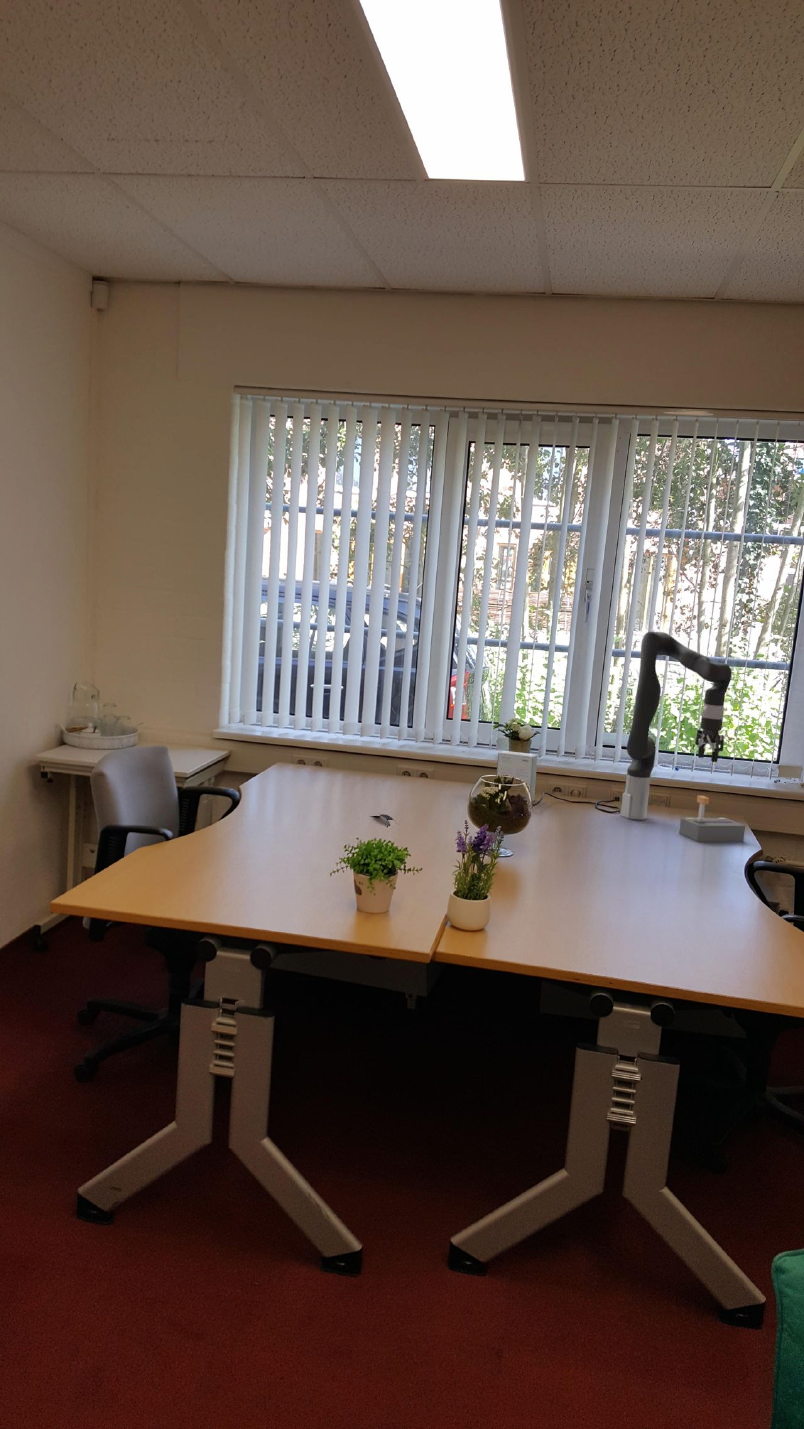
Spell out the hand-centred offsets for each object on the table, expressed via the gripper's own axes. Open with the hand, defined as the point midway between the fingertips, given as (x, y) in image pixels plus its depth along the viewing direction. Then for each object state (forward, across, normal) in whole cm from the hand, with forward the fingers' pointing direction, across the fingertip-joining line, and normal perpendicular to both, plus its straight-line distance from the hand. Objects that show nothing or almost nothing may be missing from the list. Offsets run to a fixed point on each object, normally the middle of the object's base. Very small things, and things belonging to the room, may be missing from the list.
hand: (707, 759), depth 360 cm
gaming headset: (+31, +22, +117) cm, 123 cm away
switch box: (+30, 0, -6) cm, 30 cm away
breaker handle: (+24, 0, 0) cm, 24 cm away
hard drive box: (+30, +61, +50) cm, 84 cm away
